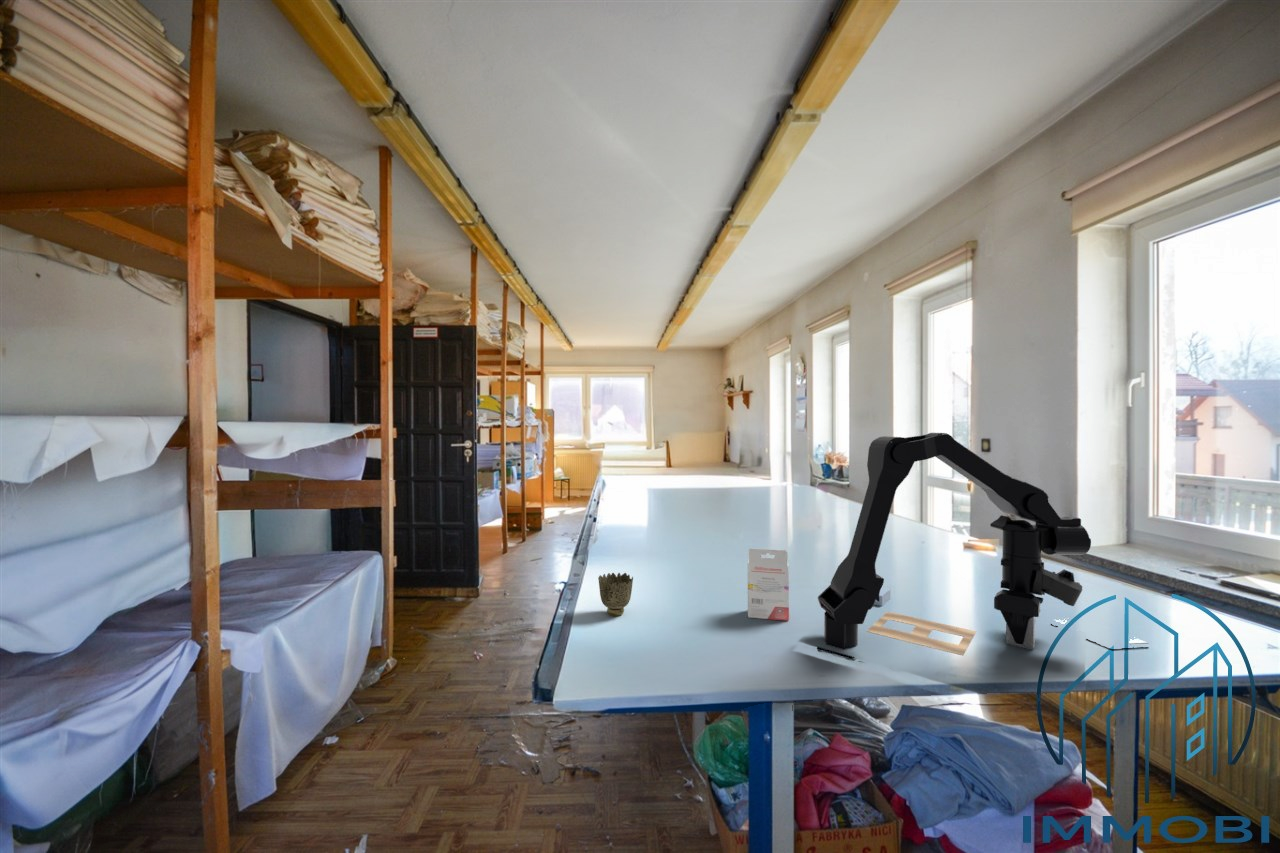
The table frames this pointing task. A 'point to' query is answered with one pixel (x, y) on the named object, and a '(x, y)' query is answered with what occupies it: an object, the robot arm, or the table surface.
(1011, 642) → the grey rectangular block
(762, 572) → the ink cartridge box
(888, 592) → the block
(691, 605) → the table surface
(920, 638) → the socket board
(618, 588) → the cup
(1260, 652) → the table surface
